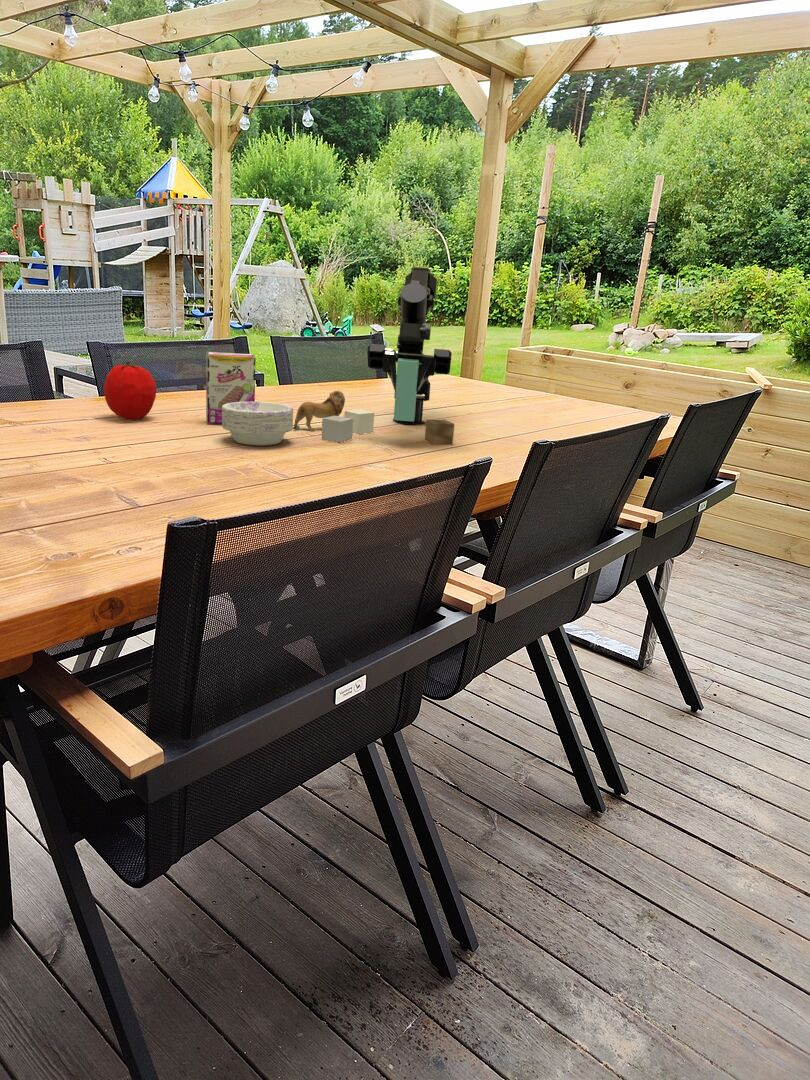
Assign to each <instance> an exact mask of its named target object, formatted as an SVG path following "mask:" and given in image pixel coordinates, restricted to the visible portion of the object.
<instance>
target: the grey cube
mask: <svg viewBox="0 0 810 1080" xmlns="http://www.w3.org/2000/svg"><path fill="white" fill-rule="evenodd" d="M321 419H322V421H321V425H322V426H321V440H322V441H326V440H328V441H327V442H331V441H334V442H333V443H336V442H340V443H339V444H342V443H341V442H343V443H345V442H344V441H347V440H350V439H352V440H353V433H352V428H353V419H351V418H346V417H345V416H340V415H339V416H330V417H326V418H321ZM350 441H351V440H350ZM347 442H348V441H347Z"/></svg>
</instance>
